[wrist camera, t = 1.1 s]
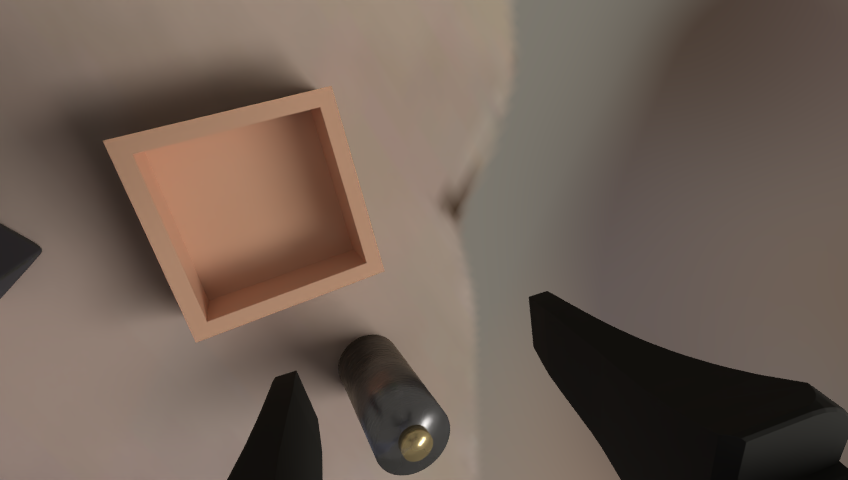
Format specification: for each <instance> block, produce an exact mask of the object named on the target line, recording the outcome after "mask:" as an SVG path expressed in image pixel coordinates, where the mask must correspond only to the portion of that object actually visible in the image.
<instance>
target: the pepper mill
mask: <svg viewBox="0 0 848 480" xmlns="http://www.w3.org/2000/svg"><path fill="white" fill-rule="evenodd" d="M338 370H339V376H340V378H341V380H342V383H343V385H344V387H345V390H346V392H347V394H348V396H349V399H350V401H351V403H352V405H353V408H354V410H355V412H356V414H357V417H358V419H359V421H360V424H361V426H362V428H363V430H364V433H365V435H366V437H367V439H368V442H369V444H370V446H371V448H372V451H373V453H374V455H375V458H376V460H377V462H378V464H379V465H380V466H381V467H382V468H383V469H384V470H385V471H387V472H389V473H391V474H394V475H410V474H414V473H417V472H419V471H421V470H423V469H425V468H427V467H428V466H429V465H431V464H432V463H433V462H434V461H435V460H436V459H437V458H438V457H439V456H440V455H441V453H442V452H443V450H444V448H445V447H446V444H447V442H448V439H449V435H450V424H449V420H448V417H447V415H446V413H445V412H444V411H443V409H442V408H441V407H440V405H439V404H438V403H437V401H436V400H435V399H434V397H433V396H432V395H431V393H430V392H429V391H428V389H427V388H426V387H425V385H424V384H423V383H422V381H421V380H420V379H419V377H418V376H417V375H416V373H415V372H414V371H413V369H412V368H411V367H410V365H409V364H408V363H407V361H406V360H405V359H404V357H403V356H402V355H401V353H400V352H399V351H398V349H397V348H396V347H395V345H394V344H393V343H392V342H391V341H390V340H389V339H387V338H385V337H383V336H379V335H368V336H364V337H361V338H359V339H357V340H355V341H354V342H352V343H351V344H350V345H349V346H348V347H347V348H346V349H345V351H344V352H343V354H342V356H341V358H340V361H339V368H338Z"/></svg>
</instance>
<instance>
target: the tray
mask: <svg viewBox="0 0 848 480" xmlns="http://www.w3.org/2000/svg"><path fill="white" fill-rule="evenodd" d="M103 142H104V145H105V147H106V149H107V151H108V153H109V155H110V158H111V160H112V162H113V164H114V166H115V168H116V171H117V173H118V175H119V177H120V179H121V181H122V184H123V186H124V188H125V190H126V192H127V194H128V197H129V199H130V201H131V203H132V205H133V207H134V210H135V212H136V214H137V216H138V218H139V220H140V223H141V225H142V227H143V229H144V231H145V233H146V235H147V238H148V240H149V242H150V244H151V246H152V248H153V251H154V253H155V255H156V257H157V259H158V261H159V264H160V266H161V268H162V270H163V272H164V274H165V277H166V279H167V281H168V283H169V285H170V287H171V290H172V292H173V294H174V296H175V298H176V300H177V303H178V305H179V307H180V309H181V311H182V313H183V316H184V318H185V320H186V322H187V324H188V326H189V329H190V331H191V333H192V335H193V337H194V339H195V342H199V341H202V340H204V339H207V338H210V337H212V336H215V335H218V334H220V333H223V332H225V331H228V330H231V329H233V328H236V327H239V326H241V325H244V324H247V323H249V322H252V321H254V320H257V319H260V318H262V317H265V316H268V315H270V314H273V313H276V312H278V311H281V310H284V309H286V308H289V307H291V306H294V305H297V304H299V303H302V302H305V301H307V300H310V299H313V298H315V297H318V296H320V295H323V294H326V293H328V292H331V291H334V290H336V289H339V288H342V287H344V286H347V285H350V284H352V283H355V282H357V281H360V280H363V279H365V278H368V277H371V276H373V275H376V274H379V273H381V272H384V268H383V264H382V261H381V257H380V254H379V250H378V247H377V243H376V240H375V236H374V233H373V229H372V226H371V222H370V219H369V215H368V212H367V208H366V205H365V201H364V198H363V194H362V191H361V187H360V184H359V180H358V177H357V173H356V170H355V166H354V163H353V159H352V156H351V152H350V149H349V145H348V142H347V138H346V135H345V132H344V128H343V125H342V121H341V118H340V114H339V111H338V107H337V104H336V100H335V97H334V93H333V90H332V86H329V87H325V88H320V89H316V90H312V91H308V92H304V93H300V94H295V95H291V96H287V97H283V98H279V99H275V100H270V101H266V102H262V103H258V104H254V105H249V106H245V107H241V108H237V109H233V110H229V111H224V112H220V113H216V114H212V115H208V116H204V117H199V118H195V119H191V120H187V121H183V122H179V123H174V124H170V125H166V126H162V127H158V128H154V129H149V130H145V131H141V132H137V133H133V134H129V135H124V136H120V137H116V138H112V139H108V140H104V141H103Z"/></svg>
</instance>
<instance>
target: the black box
mask: <svg viewBox="0 0 848 480" xmlns="http://www.w3.org/2000/svg"><path fill="white" fill-rule="evenodd" d="M41 252H42V249H41V248H40V246H38V245H37V244H35V243H34V242H32V241H30V240H28V239H27V238H25V237H23V236H21V235H20V234H18V233H16V232H14V231H13V230H11V229H9V228H7V227H6V226H4V225H2V224H0V298H1V297H2V296H3V295H4V294H5V293H6V292H7V291H8V290H9V289H10V288H11V286H12V285H13V284H14V283H15V282H16V281H17V280H18V279H19V278H20V276H21V275H22V274H23V273H24V272H25V271H26V270H27V269H28V268H29V266H30V265H31V264H32V263H33V262H34V261H35V260H36V258H37V257H38V256H39V255H40V254H41Z"/></svg>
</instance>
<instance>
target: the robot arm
mask: <svg viewBox="0 0 848 480" xmlns="http://www.w3.org/2000/svg"><path fill="white" fill-rule="evenodd" d="M529 304H530V314H531V325H532V335H533V346H534V349H535V350H536V352H537V354H538V356H539V358H540V360H541V361H542V363H543V365H544V367H545V368H546V370H547V372H548V374H549V375H550V377H551V378H552V380H553V381H554V382H555V383H556V385H557V386H558V388H559V389H560V391H561V392H562V393H563V395H564V396H565V397H566V399H567V400H568V401H569V403H570V404H571V405H572V407H573V408H574V409H575V411H576V412H577V413H578V415H579V416H580V418H581V419H582V420H583V421H584V423H585V424H586V425H587V427H588V428H589V430H590V431H591V432H592V434H593V435H594V437H595V438H596V440H597V441H598V443H599V444H600V446H601V447H602V449H603V450H604V452H605V454H606V455H607V457H608V459H609V460H610V462H611V464H612V465H613V467H614V469H615V470H616V472H617V474H618V475H619V477H620V479H621V480H848V468H847V467H845V466H844V465H843V464H842V463H841V462H840V461H839V460H840V457H841V455H842V452H843V450H844V447H845V445H846V442H847V440H848V413H847V412H846V411H845V410H844V409H843V408H842V407H840V406H839V405H837V404H836V403H835V402H833V401H832V400H831V399H829V398H828V397H826V396H825V395H824V394H822V393H821V392H820V391H818V390H817V389H815V388H814V387H813V386H811V385H810V384H808V383H805V382H799V381H793V380H787V379H781V378H775V377H769V376H764V375H758V374H754V373H749V372H745V371H740V370H736V369H731V368H727V367H723V366H719V365H716V364H712V363H709V362H705V361H702V360H698V359H695V358H692V357H688V356H685V355H682V354H679V353H676V352H673V351H670V350H668V349H665V348H662V347H660V346H657V345H654V344H652V343H649V342H646V341H644V340H642V339H639V338H637V337H635V336H632V335H630V334H628V333H626V332H624V331H621V330H619V329H617V328H615V327H613V326H611V325H609V324H607V323H605V322H603V321H601V320H599V319H597V318H595V317H593V316H591V315H590V314H588V313H586V312H584V311H582V310H580V309H578V308H577V307H575V306H573V305H571V304H570V303H568V302H565V301H564V300H562V299H561V298H559V297H557V296H555V295H553V294H552V293H550V292H548V291H546V292H543V293H540V294H536V295H534V296H530V297H529ZM227 480H322V447H321V439H320V431H319V424H318V418H317V416H316V414H315V411H314V409H313V407H312V405H311V402H310V400H309V398H308V396H307V393H306V391H305V389H304V387H303V384H302V382H301V380H300V378H299V375H298V373H297V371H294V372H291V373H288V374H284V375H281V376H278V377H275V379H274V380H273V382H272V385H271V387H270V390H269V392H268V395H267V397H266V400H265V402H264V405H263V407H262V409H261V412H260V414H259V416H258V419H257V421H256V423H255V425H254V427H253V430H252V432H251V434H250V436H249V438H248V440H247V443H246V445H245V447H244V449H243V451H242V452H241V454H240V456H239V458H238V460H237V462H236V464H235V466H234V468H233V470H232V472H231V473H230V475H229V477H228V479H227Z"/></svg>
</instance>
